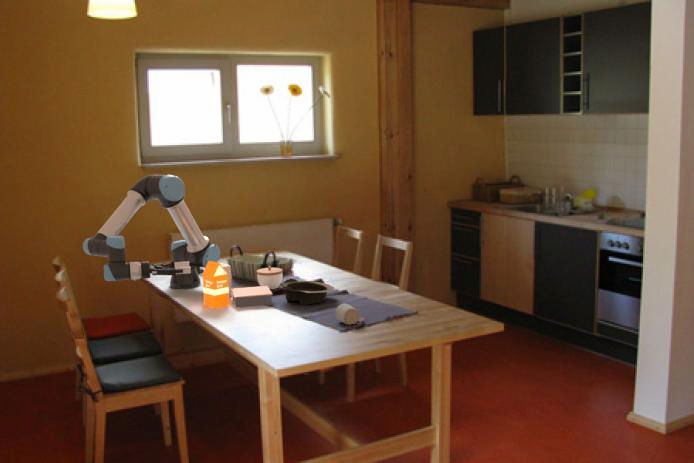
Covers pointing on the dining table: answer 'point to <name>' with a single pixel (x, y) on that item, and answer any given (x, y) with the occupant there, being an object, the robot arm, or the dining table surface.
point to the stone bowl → (306, 291)
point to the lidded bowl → (270, 277)
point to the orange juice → (215, 286)
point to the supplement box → (228, 271)
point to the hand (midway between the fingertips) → (190, 267)
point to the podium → (252, 296)
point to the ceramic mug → (347, 314)
